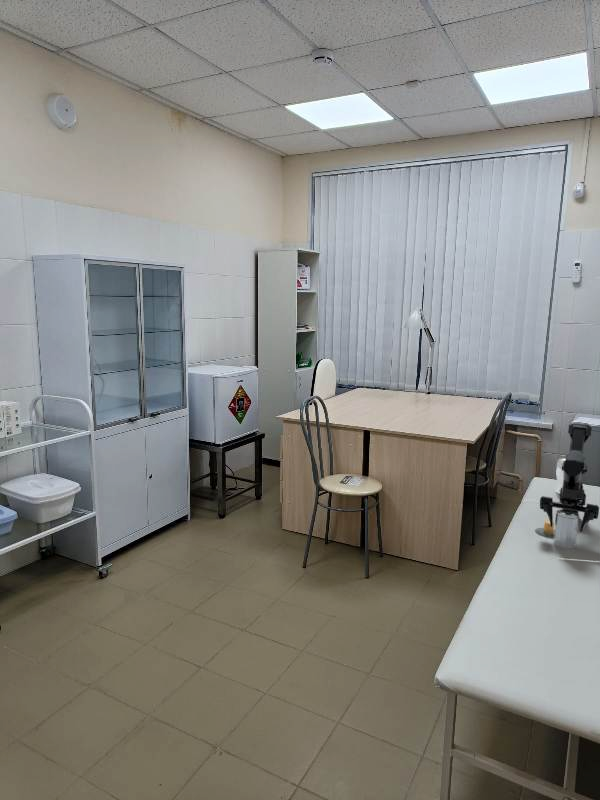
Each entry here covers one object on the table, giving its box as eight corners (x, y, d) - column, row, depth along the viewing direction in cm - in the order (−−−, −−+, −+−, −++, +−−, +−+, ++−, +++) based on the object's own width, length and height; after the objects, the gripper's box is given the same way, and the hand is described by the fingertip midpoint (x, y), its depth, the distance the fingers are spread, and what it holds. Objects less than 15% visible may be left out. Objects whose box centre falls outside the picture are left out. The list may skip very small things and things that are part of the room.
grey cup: (550, 540, 198) (554, 508, 196) (571, 541, 197) (575, 510, 195) (556, 549, 192) (560, 516, 189) (578, 550, 191) (581, 517, 188)
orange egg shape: (542, 530, 205) (543, 520, 205) (551, 531, 205) (552, 521, 204) (544, 534, 202) (545, 524, 201) (554, 534, 202) (555, 524, 201)
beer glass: (567, 490, 250) (571, 458, 248) (573, 495, 244) (577, 463, 241) (551, 489, 251) (554, 457, 248) (557, 494, 244) (560, 462, 242)
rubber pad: (532, 528, 209) (532, 526, 209) (557, 530, 207) (557, 528, 207) (538, 538, 200) (538, 537, 200) (564, 540, 199) (564, 538, 198)
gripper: (542, 474, 198) (536, 514, 190) (601, 483, 189) (597, 525, 182) (543, 489, 206) (537, 527, 199) (599, 498, 197) (595, 538, 190)
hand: (565, 529), depth 192 cm, fingers open, 9 cm apart
